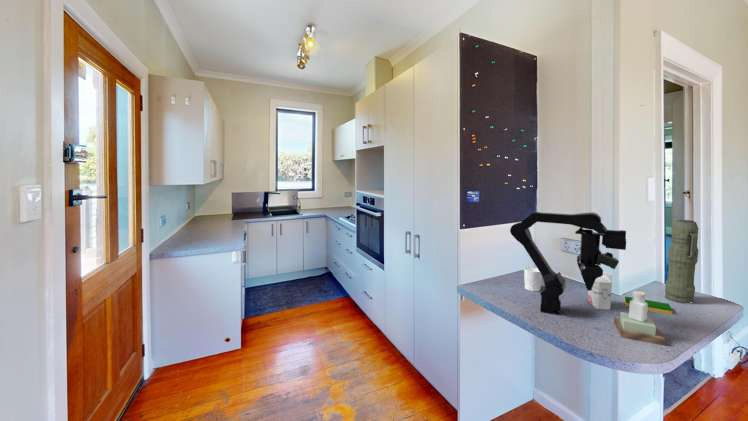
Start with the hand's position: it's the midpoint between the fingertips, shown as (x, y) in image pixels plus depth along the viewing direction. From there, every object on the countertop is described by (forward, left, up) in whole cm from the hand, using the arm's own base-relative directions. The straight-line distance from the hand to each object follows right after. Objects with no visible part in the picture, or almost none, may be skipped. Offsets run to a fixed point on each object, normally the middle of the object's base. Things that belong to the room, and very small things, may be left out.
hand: (587, 286), depth 111 cm
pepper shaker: (+14, -5, -8) cm, 17 cm away
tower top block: (+14, -5, -11) cm, 18 cm away
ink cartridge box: (+6, +17, -13) cm, 22 cm away
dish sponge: (+23, +24, -14) cm, 36 cm away
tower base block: (+14, -5, -14) cm, 20 cm away
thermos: (+37, +40, -13) cm, 56 cm away
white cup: (-19, +25, -13) cm, 34 cm away
